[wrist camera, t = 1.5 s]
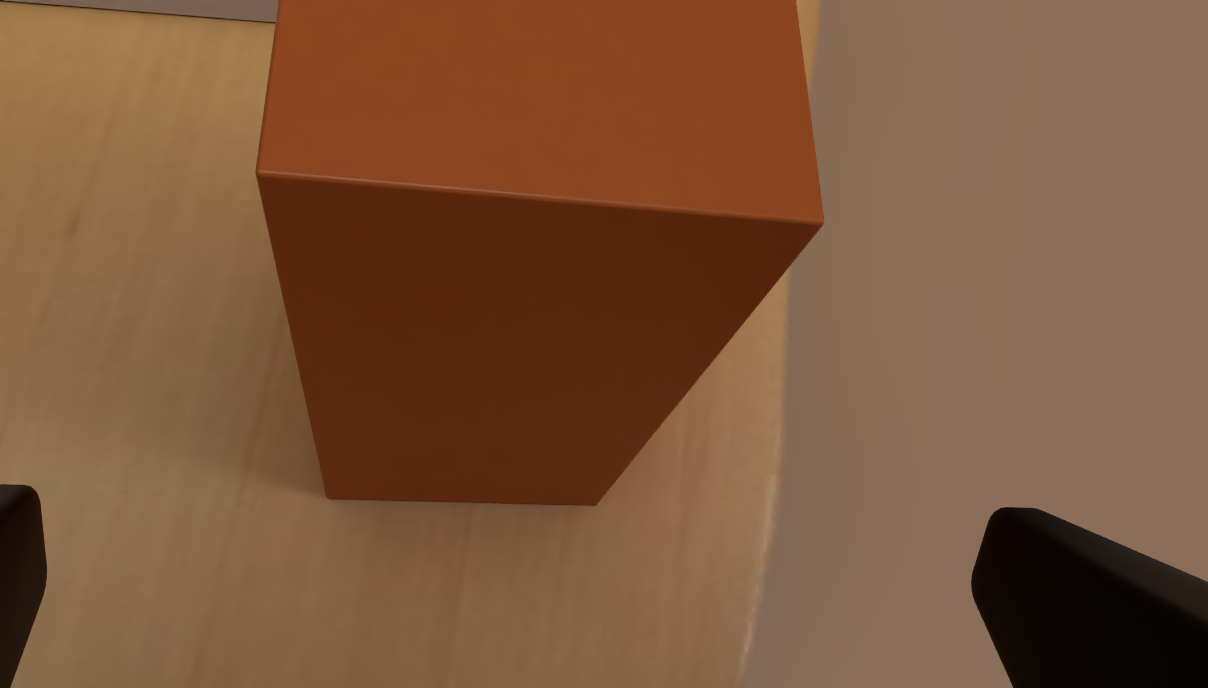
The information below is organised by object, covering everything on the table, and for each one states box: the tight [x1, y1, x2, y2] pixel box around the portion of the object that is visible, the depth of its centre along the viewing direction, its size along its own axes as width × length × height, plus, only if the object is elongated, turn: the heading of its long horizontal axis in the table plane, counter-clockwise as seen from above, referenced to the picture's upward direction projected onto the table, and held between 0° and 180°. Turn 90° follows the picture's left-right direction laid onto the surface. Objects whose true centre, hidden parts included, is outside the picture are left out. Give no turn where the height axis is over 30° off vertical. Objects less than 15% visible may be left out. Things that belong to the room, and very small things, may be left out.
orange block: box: [256, 0, 824, 505], centre depth 17 cm, size 6×6×13 cm
